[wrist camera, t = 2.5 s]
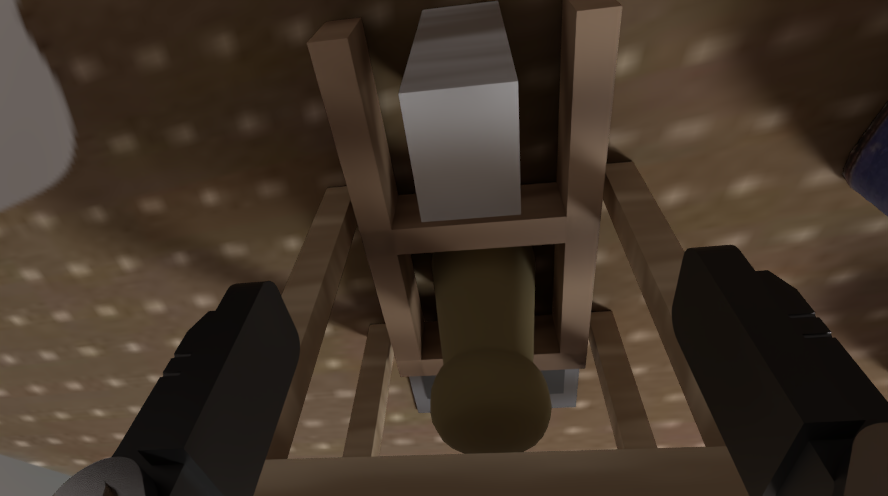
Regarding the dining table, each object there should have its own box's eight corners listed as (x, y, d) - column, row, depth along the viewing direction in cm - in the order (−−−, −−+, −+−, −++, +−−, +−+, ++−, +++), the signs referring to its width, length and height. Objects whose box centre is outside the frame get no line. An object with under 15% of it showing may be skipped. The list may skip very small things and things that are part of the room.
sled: (325, 21, 20) (247, 109, 13) (602, -13, 18) (687, 63, 11) (405, 339, 32) (388, 474, 25) (575, 329, 30) (609, 469, 23)
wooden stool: (310, 180, 25) (145, 520, 12) (650, 150, 23) (883, 508, 10) (387, 411, 38) (347, 694, 25) (609, 403, 36) (689, 702, 23)
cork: (534, 217, 26) (570, 392, 17) (536, 298, 30) (565, 475, 21) (424, 227, 27) (405, 401, 18) (438, 304, 30) (429, 479, 22)
